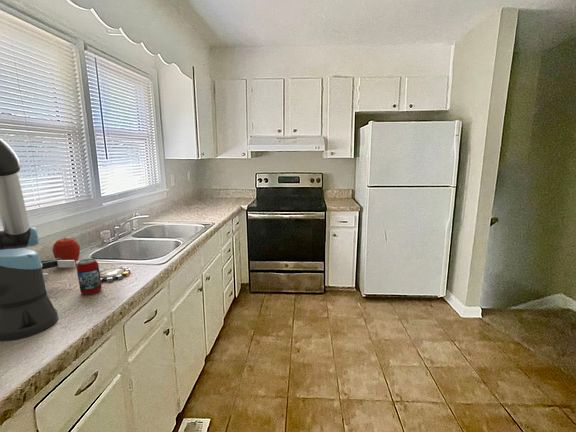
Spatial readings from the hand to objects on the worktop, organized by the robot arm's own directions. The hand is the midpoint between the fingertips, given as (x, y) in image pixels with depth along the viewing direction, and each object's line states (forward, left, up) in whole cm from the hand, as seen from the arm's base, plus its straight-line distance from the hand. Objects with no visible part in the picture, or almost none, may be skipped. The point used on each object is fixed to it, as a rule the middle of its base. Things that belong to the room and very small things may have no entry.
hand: (62, 270), depth 117 cm
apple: (+30, +20, -9) cm, 37 cm away
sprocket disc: (+15, -8, -8) cm, 19 cm away
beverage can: (0, -10, -9) cm, 13 cm away
